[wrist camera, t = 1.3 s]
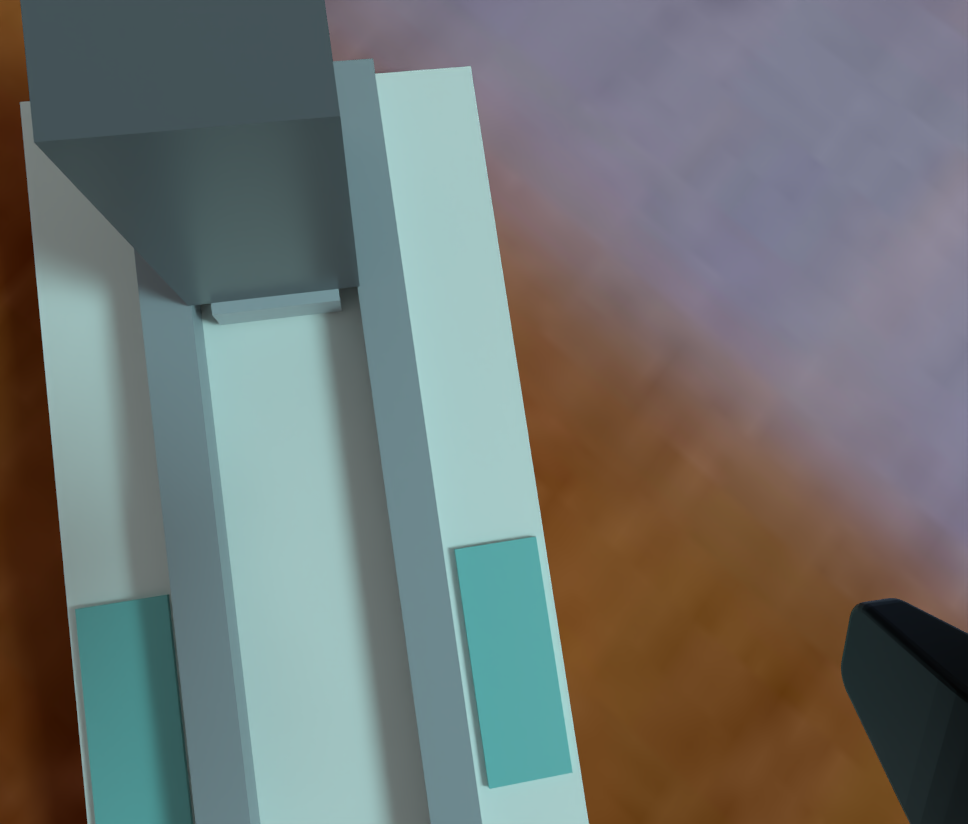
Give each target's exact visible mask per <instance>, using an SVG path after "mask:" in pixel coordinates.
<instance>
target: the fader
mask: <svg viewBox="0 0 968 824" xmlns="http://www.w3.org/2000/svg"><path fill="white" fill-rule="evenodd" d="M20 2H21V12H22V23H23V33H24V44H25V54H26V65H27V75H28V86H29V96H30V106H31V117H32V127H33V138H34V143H35V144H36V145H37V146H38V147H39V148H40V149H41V150H42V151H43V152H44V154H45V155H46V156H47V157H48V158H49V159H50V160H51V161H52V162H53V163H54V164H55V165H56V166H57V167H58V168H59V169H60V171H61V172H62V173H63V174H64V175H65V176H66V177H67V178H68V179H69V180H70V181H71V182H72V183H73V184H74V185H75V186H76V187H77V189H78V190H79V191H80V192H81V193H82V194H83V195H84V196H85V197H86V198H87V199H88V200H89V201H90V202H91V203H92V204H93V205H94V207H95V208H96V209H97V210H98V211H99V212H100V213H101V214H102V215H103V216H104V217H105V218H106V219H107V220H108V221H109V222H110V223H111V225H112V226H113V227H114V228H115V229H116V230H117V231H118V232H119V233H120V234H121V235H122V236H123V237H124V238H125V239H126V240H127V242H128V243H129V244H130V245H131V246H132V247H133V248H134V249H135V250H136V251H137V252H138V253H139V254H140V255H141V256H142V257H143V258H144V260H145V261H146V262H147V263H148V264H149V265H150V266H151V267H152V268H153V269H154V270H155V271H156V272H157V273H158V274H159V275H160V276H161V278H162V279H163V280H164V281H165V282H166V283H167V284H168V285H169V286H170V287H171V288H172V289H173V290H174V291H175V292H176V293H177V294H178V296H179V297H180V298H181V299H182V300H183V301H184V302H185V303H186V304H187V305H188V306H191V305H200V304H209V303H211V309H212V315H213V317H214V318H215V319H216V320H217V321H218V322H219V324H220V325H226V324H235V323H243V322H252V321H260V320H269V319H277V318H286V317H295V316H303V315H312V314H320V313H329V312H337V311H342V306H341V299H340V291H339V289H341V288H350V287H359V286H360V283H359V274H358V266H357V257H356V248H355V240H354V231H353V222H352V213H351V205H350V196H349V187H348V178H347V170H346V161H345V152H344V144H343V135H342V126H341V117H340V110H339V103H338V95H337V88H336V81H335V74H334V66H333V59H332V52H331V44H330V37H329V30H328V23H327V15H326V8H325V1H324V0H20Z"/></svg>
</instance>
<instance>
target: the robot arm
mask: <svg viewBox="0 0 968 824" xmlns="http://www.w3.org/2000/svg"><path fill="white" fill-rule="evenodd" d="M841 673H842V679H843V683H844V686H845V689H846V691H847V693H848V695H849V697H850V700H851V702H852V704H853V706H854V708H855V710H856V712H857V714H858V716H859V718H860V720H861V723H862V725H863V727H864V729H865V731H866V733H867V735H868V737H869V739H870V741H871V743H872V746H873V748H874V750H875V752H876V754H877V756H878V758H879V760H880V762H881V764H882V767H883V769H884V771H885V773H886V775H887V777H888V779H889V781H890V783H891V785H892V787H893V790H894V792H895V794H896V796H897V798H898V800H899V802H900V804H901V806H902V808H903V810H904V812H905V814H906V816H907V818H908V820H909V822H910V824H968V633H966V632H964V631H962V630H960V629H958V628H956V627H954V626H952V625H950V624H948V623H946V622H944V621H942V620H940V619H938V618H936V617H934V616H932V615H930V614H928V613H926V612H924V611H923V610H921V609H919V608H917V607H915V606H913V605H911V604H909V603H907V602H905V601H902V600H900V599H895V598H888V599H881V600H875V601H868V602H862V603H859V604H857V605H856V606H855V607H854V608H853V610H852V611H851V615H850V619H849V625H848V630H847V635H846V641H845V646H844V652H843V657H842V663H841Z"/></svg>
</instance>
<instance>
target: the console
mask: <svg viewBox="0 0 968 824" xmlns="http://www.w3.org/2000/svg"><path fill="white" fill-rule="evenodd" d="M333 66H334V74H335V81H336V88H337V95H338V103H339V110H340V117H341V126H342V135H343V144H344V152H345V161H346V170H347V178H348V187H349V196H350V205H351V213H352V222H353V231H354V240H355V248H356V257H357V266H358V274H359V283H360V286H359V287H350V288H341V289H339V291H340V299H341V306H342V311H337V312H329V313H320V314H312V315H303V316H295V317H286V318H277V319H269V320H260V321H252V322H243V323H235V324H226V325H220V324H219V322H218V321H217V320H216V319H215V318H214V317H213V315H212V309H211V303H209V304H200V305H191V306H188V305H187V304H186V303H185V302H184V301H183V300H182V299H181V298H180V297H179V296H178V294H177V293H176V292H175V291H174V290H173V289H172V288H171V287H170V286H169V285H168V284H167V283H166V282H165V281H164V280H163V279H162V278H161V276H160V275H159V274H158V273H157V272H156V271H155V270H154V269H153V268H152V267H151V266H150V265H149V264H148V263H147V262H146V261H145V260H144V258H143V257H142V256H141V255H140V254H139V253H138V252H137V251H136V250H135V249H134V248H133V247H132V246H131V245H130V244H129V243H128V242H127V240H126V239H125V238H124V237H123V236H122V235H121V234H120V233H119V232H118V231H117V230H116V229H115V228H114V227H113V226H112V225H111V223H110V222H109V221H108V220H107V219H106V218H105V217H104V216H103V215H102V214H101V213H100V212H99V211H98V210H97V209H96V208H95V207H94V205H93V204H92V203H91V202H90V201H89V200H88V199H87V198H86V197H85V196H84V195H83V194H82V193H81V192H80V191H79V190H78V189H77V187H76V186H75V185H74V184H73V183H72V182H71V181H70V180H69V179H68V178H67V177H66V176H65V175H64V174H63V173H62V172H61V171H60V169H59V168H58V167H57V166H56V165H55V164H54V163H53V162H52V161H51V160H50V159H49V158H48V157H47V156H46V155H45V154H44V152H43V151H42V150H41V149H40V148H39V147H38V146H37V145H36V144H35V143H34V138H33V127H32V117H31V106H30V101H27V102H20V110H21V121H22V131H23V142H24V153H25V163H26V174H27V185H28V195H29V206H30V216H31V227H32V238H33V248H34V259H35V270H36V280H37V291H38V301H39V312H40V323H41V333H42V344H43V355H44V365H45V376H46V387H47V397H48V408H49V418H50V429H51V440H52V450H53V461H54V472H55V482H56V493H57V503H58V514H59V525H60V535H61V546H62V557H63V567H64V578H65V589H66V599H67V610H68V620H69V631H70V642H71V652H72V663H73V674H74V684H75V695H76V705H77V716H78V727H79V737H80V748H81V759H82V769H83V780H84V790H85V801H86V812H87V822H88V824H589V822H588V816H587V809H586V803H585V797H584V790H583V784H582V777H581V771H580V765H579V758H578V752H577V745H576V739H575V732H574V726H573V720H572V713H571V707H570V700H569V694H568V688H567V681H566V675H565V668H564V662H563V656H562V649H561V643H560V636H559V630H558V624H557V617H556V611H555V604H554V598H553V591H552V585H551V579H550V572H549V566H548V559H547V553H546V547H545V540H544V534H543V527H542V521H541V515H540V508H539V502H538V495H537V489H536V483H535V476H534V470H533V463H532V457H531V450H530V444H529V438H528V431H527V425H526V418H525V412H524V406H523V399H522V393H521V386H520V380H519V374H518V367H517V361H516V354H515V348H514V342H513V335H512V329H511V322H510V316H509V309H508V303H507V297H506V290H505V284H504V277H503V271H502V265H501V258H500V252H499V245H498V239H497V233H496V226H495V220H494V213H493V207H492V201H491V194H490V188H489V181H488V175H487V168H486V162H485V156H484V149H483V143H482V136H481V130H480V124H479V117H478V111H477V104H476V98H475V92H474V85H473V79H472V72H471V66H468V67H456V68H443V69H430V70H418V71H405V72H392V73H380V74H375V70H374V63H373V59H361V60H348V61H335V62H333Z"/></svg>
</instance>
